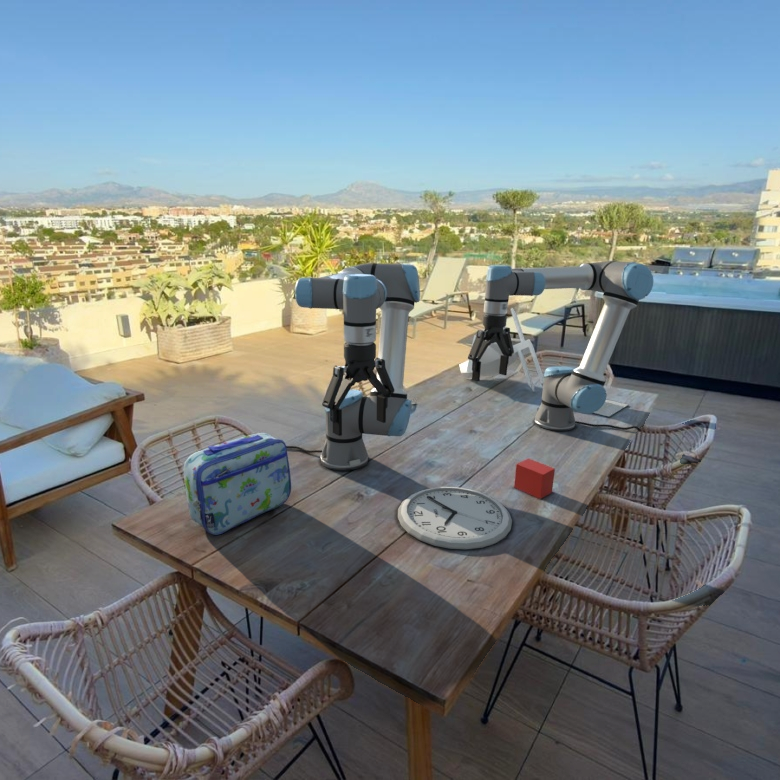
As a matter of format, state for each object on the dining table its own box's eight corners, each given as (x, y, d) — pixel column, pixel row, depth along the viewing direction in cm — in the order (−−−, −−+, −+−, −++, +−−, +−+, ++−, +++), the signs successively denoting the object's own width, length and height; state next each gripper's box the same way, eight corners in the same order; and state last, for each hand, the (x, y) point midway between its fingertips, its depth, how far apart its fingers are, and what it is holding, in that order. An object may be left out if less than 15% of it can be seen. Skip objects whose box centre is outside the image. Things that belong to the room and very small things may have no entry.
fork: (400, 412, 215) (400, 407, 215) (412, 400, 229) (412, 396, 229) (406, 412, 214) (406, 408, 214) (418, 401, 229) (418, 397, 228)
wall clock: (528, 541, 125) (404, 545, 122) (528, 547, 125) (404, 551, 123) (494, 482, 153) (392, 485, 151) (494, 487, 154) (392, 490, 151)
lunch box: (204, 544, 124) (196, 463, 118) (184, 526, 131) (176, 449, 125) (295, 506, 142) (292, 434, 136) (274, 491, 149) (270, 423, 143)
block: (513, 487, 154) (516, 463, 152) (525, 481, 158) (528, 458, 156) (540, 499, 148) (543, 474, 146) (552, 492, 152) (555, 468, 150)
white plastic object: (480, 420, 263) (459, 397, 239) (461, 347, 286) (440, 319, 261) (551, 396, 251) (537, 369, 226) (526, 322, 273) (511, 290, 249)
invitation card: (608, 416, 214) (573, 407, 224) (608, 416, 214) (573, 408, 224) (628, 404, 229) (594, 396, 238) (628, 405, 229) (594, 397, 238)
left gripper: (324, 352, 111) (326, 444, 117) (409, 338, 127) (407, 420, 133) (305, 346, 116) (308, 435, 123) (389, 333, 132) (388, 412, 139)
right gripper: (477, 318, 159) (472, 385, 165) (528, 313, 174) (521, 374, 180) (459, 315, 164) (455, 380, 170) (510, 310, 179) (504, 369, 186)
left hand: (359, 427), depth 128 cm, fingers open, 13 cm apart
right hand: (489, 377), depth 175 cm, fingers open, 13 cm apart
